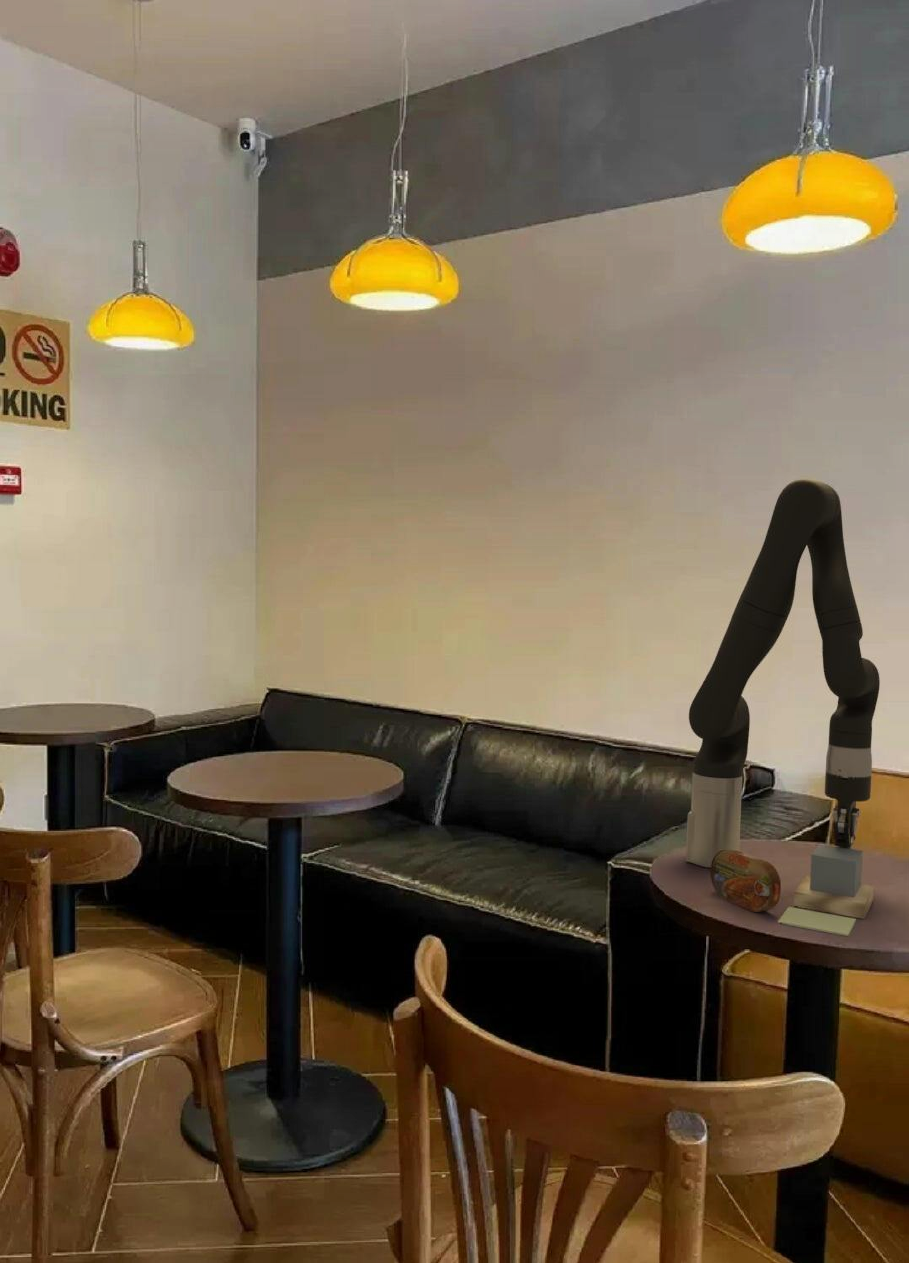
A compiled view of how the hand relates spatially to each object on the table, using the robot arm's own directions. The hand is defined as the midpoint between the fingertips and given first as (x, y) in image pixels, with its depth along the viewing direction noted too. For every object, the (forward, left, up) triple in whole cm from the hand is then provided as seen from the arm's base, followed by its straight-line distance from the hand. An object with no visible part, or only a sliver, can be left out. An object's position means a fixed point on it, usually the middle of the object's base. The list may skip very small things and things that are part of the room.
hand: (843, 868), depth 178 cm
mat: (-1, -20, -4) cm, 21 cm away
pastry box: (0, -8, -2) cm, 8 cm away
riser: (0, -9, -4) cm, 10 cm away
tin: (-13, -18, -4) cm, 22 cm away
